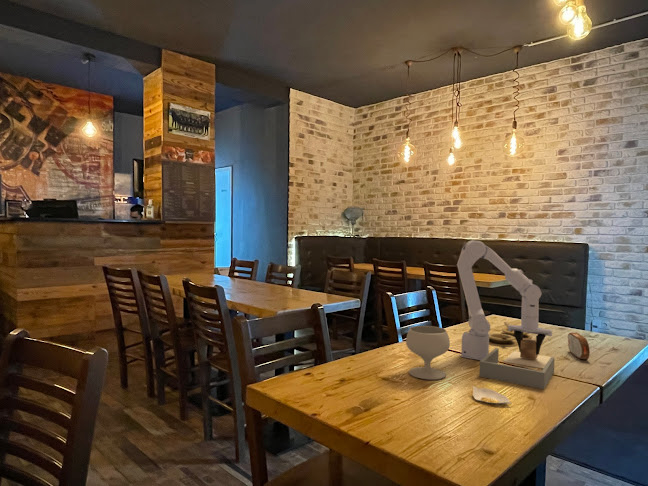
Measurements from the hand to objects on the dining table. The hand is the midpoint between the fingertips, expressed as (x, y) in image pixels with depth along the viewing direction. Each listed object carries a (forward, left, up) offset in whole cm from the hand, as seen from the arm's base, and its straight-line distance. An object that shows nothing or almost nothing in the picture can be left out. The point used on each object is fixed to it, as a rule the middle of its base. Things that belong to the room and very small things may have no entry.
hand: (529, 352), depth 157 cm
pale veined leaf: (-1, -48, -3) cm, 48 cm away
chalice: (-24, -38, -3) cm, 45 cm away
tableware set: (-14, +28, -4) cm, 31 cm away
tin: (+14, +17, -3) cm, 22 cm away
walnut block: (0, 0, -2) cm, 2 cm away
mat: (0, 0, -3) cm, 3 cm away
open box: (0, -20, -3) cm, 20 cm away
